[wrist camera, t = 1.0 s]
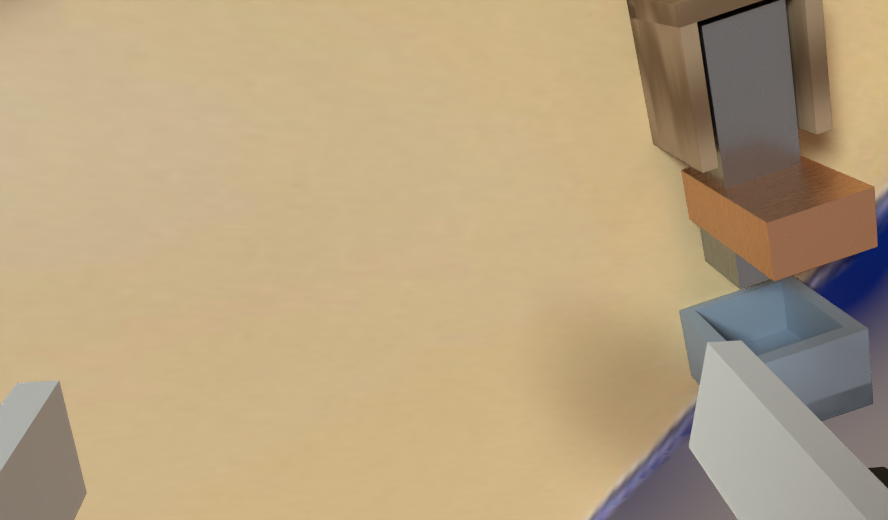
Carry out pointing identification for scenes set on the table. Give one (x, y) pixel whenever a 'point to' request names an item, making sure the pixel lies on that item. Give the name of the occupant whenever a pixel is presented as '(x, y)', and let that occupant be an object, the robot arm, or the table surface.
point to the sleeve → (683, 79)
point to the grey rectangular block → (789, 342)
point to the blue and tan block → (767, 162)
